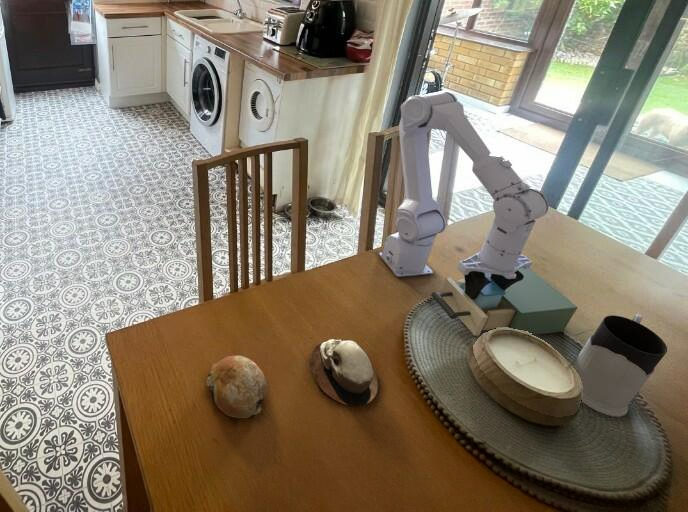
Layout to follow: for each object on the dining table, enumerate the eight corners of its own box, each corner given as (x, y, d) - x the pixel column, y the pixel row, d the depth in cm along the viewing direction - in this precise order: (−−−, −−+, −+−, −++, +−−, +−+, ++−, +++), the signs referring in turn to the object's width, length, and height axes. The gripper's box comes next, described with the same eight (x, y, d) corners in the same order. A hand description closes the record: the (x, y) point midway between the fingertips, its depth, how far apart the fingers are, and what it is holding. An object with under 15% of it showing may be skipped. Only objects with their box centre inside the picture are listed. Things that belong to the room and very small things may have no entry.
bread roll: (239, 439, 70) (262, 426, 65) (193, 394, 72) (211, 378, 68) (260, 390, 78) (282, 375, 73) (218, 350, 80) (236, 333, 75)
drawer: (454, 338, 83) (462, 319, 80) (420, 297, 92) (426, 279, 90) (525, 330, 84) (534, 312, 82) (485, 290, 94) (492, 273, 91)
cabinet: (508, 337, 84) (521, 313, 81) (466, 293, 94) (476, 269, 91) (563, 331, 85) (578, 307, 82) (515, 288, 96) (526, 265, 93)
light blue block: (477, 310, 84) (484, 294, 82) (460, 291, 88) (466, 277, 87) (498, 307, 85) (506, 292, 83) (480, 289, 89) (487, 275, 87)
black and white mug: (556, 385, 75) (592, 329, 68) (577, 344, 83) (611, 290, 76) (622, 427, 69) (668, 369, 62) (638, 378, 76) (681, 322, 70)
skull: (293, 348, 80) (330, 313, 79) (323, 364, 85) (358, 330, 83) (328, 409, 70) (371, 370, 68) (360, 423, 74) (401, 387, 72)
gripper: (486, 262, 76) (463, 313, 82) (555, 255, 77) (528, 306, 83) (458, 236, 82) (439, 286, 88) (523, 231, 84) (500, 280, 90)
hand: (481, 294), depth 86 cm, fingers closed on light blue block, 5 cm apart
